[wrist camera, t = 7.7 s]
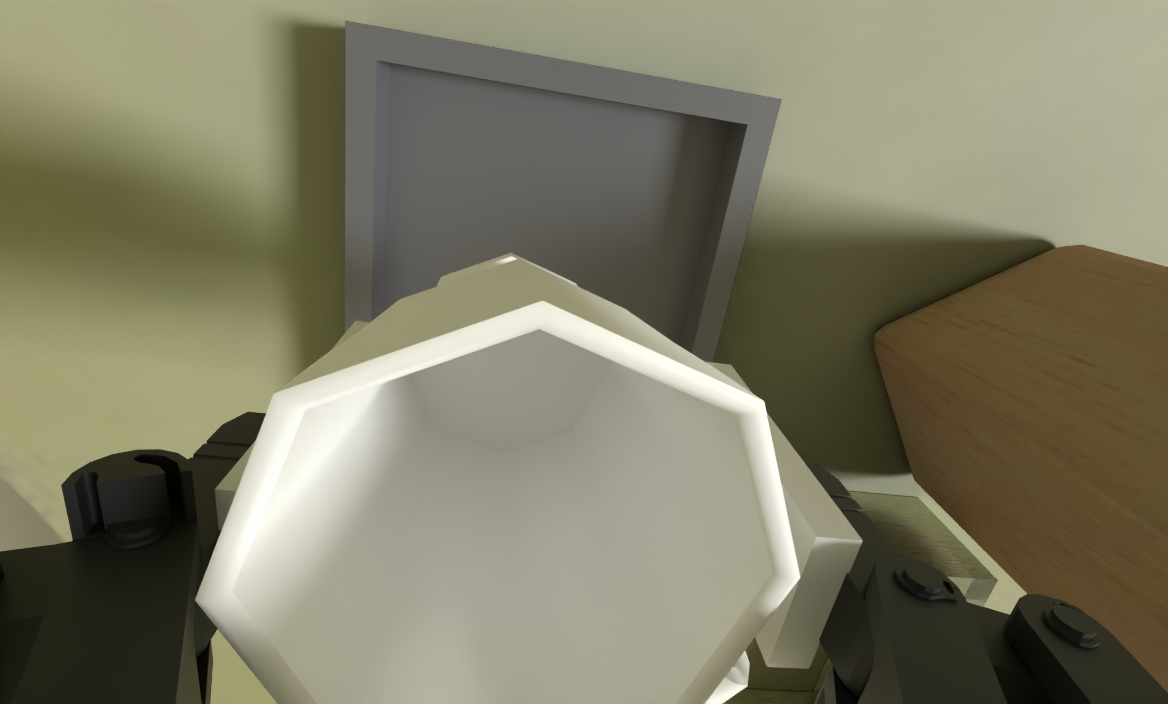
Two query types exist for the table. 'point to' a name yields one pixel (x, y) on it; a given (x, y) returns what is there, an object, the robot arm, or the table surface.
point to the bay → (911, 537)
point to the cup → (504, 511)
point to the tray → (546, 177)
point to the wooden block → (1050, 430)
